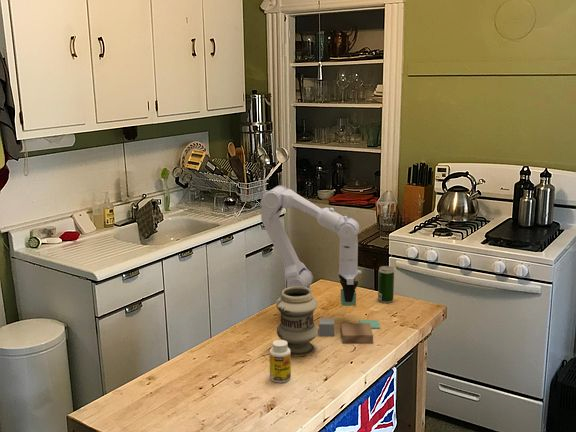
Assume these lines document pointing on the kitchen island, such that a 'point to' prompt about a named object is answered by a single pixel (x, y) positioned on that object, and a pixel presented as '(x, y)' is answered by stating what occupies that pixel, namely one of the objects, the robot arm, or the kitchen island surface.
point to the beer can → (386, 284)
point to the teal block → (348, 302)
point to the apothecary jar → (297, 319)
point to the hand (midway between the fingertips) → (348, 298)
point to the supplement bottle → (280, 361)
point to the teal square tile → (371, 323)
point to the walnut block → (356, 333)
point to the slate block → (326, 327)
